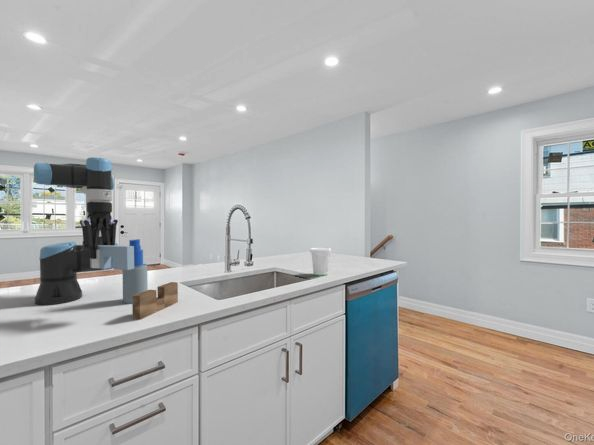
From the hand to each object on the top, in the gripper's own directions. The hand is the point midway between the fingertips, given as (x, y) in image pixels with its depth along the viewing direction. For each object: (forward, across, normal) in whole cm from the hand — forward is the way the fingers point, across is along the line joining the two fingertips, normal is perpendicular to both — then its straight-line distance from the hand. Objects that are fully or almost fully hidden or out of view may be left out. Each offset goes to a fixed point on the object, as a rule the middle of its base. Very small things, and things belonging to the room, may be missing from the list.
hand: (100, 266), depth 105 cm
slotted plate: (0, 0, -5) cm, 5 cm away
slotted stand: (+16, +7, -18) cm, 25 cm away
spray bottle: (+17, +15, -1) cm, 22 cm away
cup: (+17, +85, -66) cm, 109 cm away
